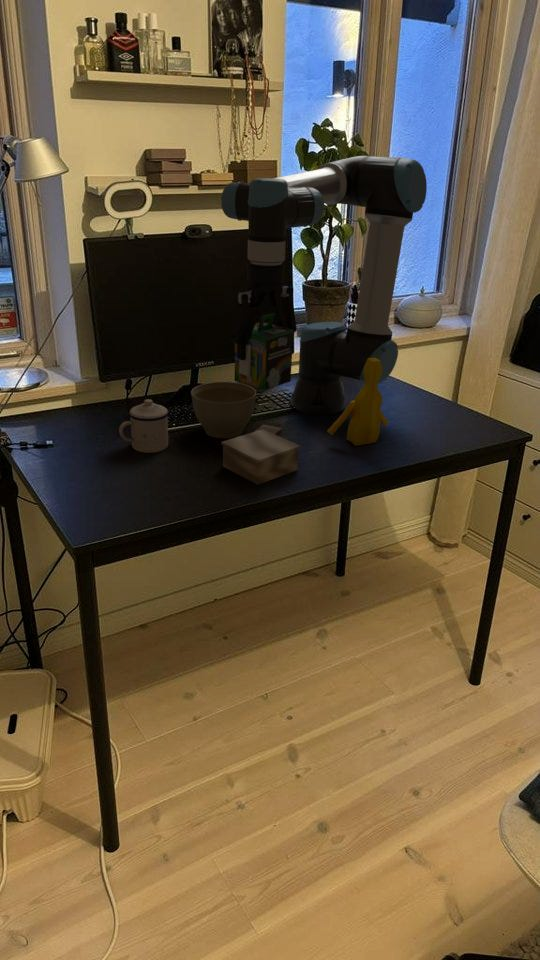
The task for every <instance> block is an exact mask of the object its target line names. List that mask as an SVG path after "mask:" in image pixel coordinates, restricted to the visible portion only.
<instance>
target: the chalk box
mask: <svg viewBox="0 0 540 960" xmlns="http://www.w3.org/2000/svg"><path fill="white" fill-rule="evenodd" d="M274 318H275V313H271V312H270V313H268V314H267V313H266V314H263V315H261V317H260V320H259V322H256V324H255V326H254V329H253V331H252V334H251V336H250V339H249V341H248V344H250V345H251V361H250V376H246V375H243V374H241V373H239V359H238V358H237V343H235V342H234V382H236V383H242V384H245V385H248V386H251V387H252V388H257V389H260V390H263V391H268V390H270V389H273V388H275V387H278V386H281V385H283V384H284V385H285V384H287V383H291V380H292V376H291V375H292V365H293V364H292V361H293V349H294V348H293V345H294V344H293V343H294V333H295V332H294V330H292V329H288V328H284V327H280V326H277V325H276V324H274V322H275V321H274ZM268 319H269V322H265V321H266V320H268ZM243 338H244V337H243Z"/></svg>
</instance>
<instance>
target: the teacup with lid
mask: <svg viewBox="0 0 540 960" xmlns="http://www.w3.org/2000/svg"><path fill="white" fill-rule="evenodd" d="M128 415H129V417H130V420H126V421H124V422H122V423H121V424H120V426H119V428H118V432H119V435H120V438H121V439H122V440H124V441H126V442H131V446H132V448H133V449H134V450H135V451H137V452H139V453H144V454H145V453H147V454H151V453H158V452H163V451H164V450H166V449H167V448H168V446H169V427H168V425H169V424H168V423H169V422H168V415H169V410H168V409H167V408H166V407H165V406H163V405H160V404H157V403H155V402H153V400H152V399H150V398H149V399H148V398H147V399H145V400H143V403H141V404H138V405H135V406H132V408H130V411H129V413H128ZM126 426H130V432H131V433H130V434H131V437H127V436H125V433H124V428H126Z"/></svg>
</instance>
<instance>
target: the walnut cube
mask: <svg viewBox="0 0 540 960" xmlns="http://www.w3.org/2000/svg"><path fill="white" fill-rule="evenodd" d="M262 429H264V430H266V431H268V432H271V433H273V434H275V435H277V436H280V437H282V438H283V427H277V426H272V425H269V424H262V425H261V426H259V427H257V428H256V429H255V430H254V431H253V432H256V431H259V430H262Z"/></svg>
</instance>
